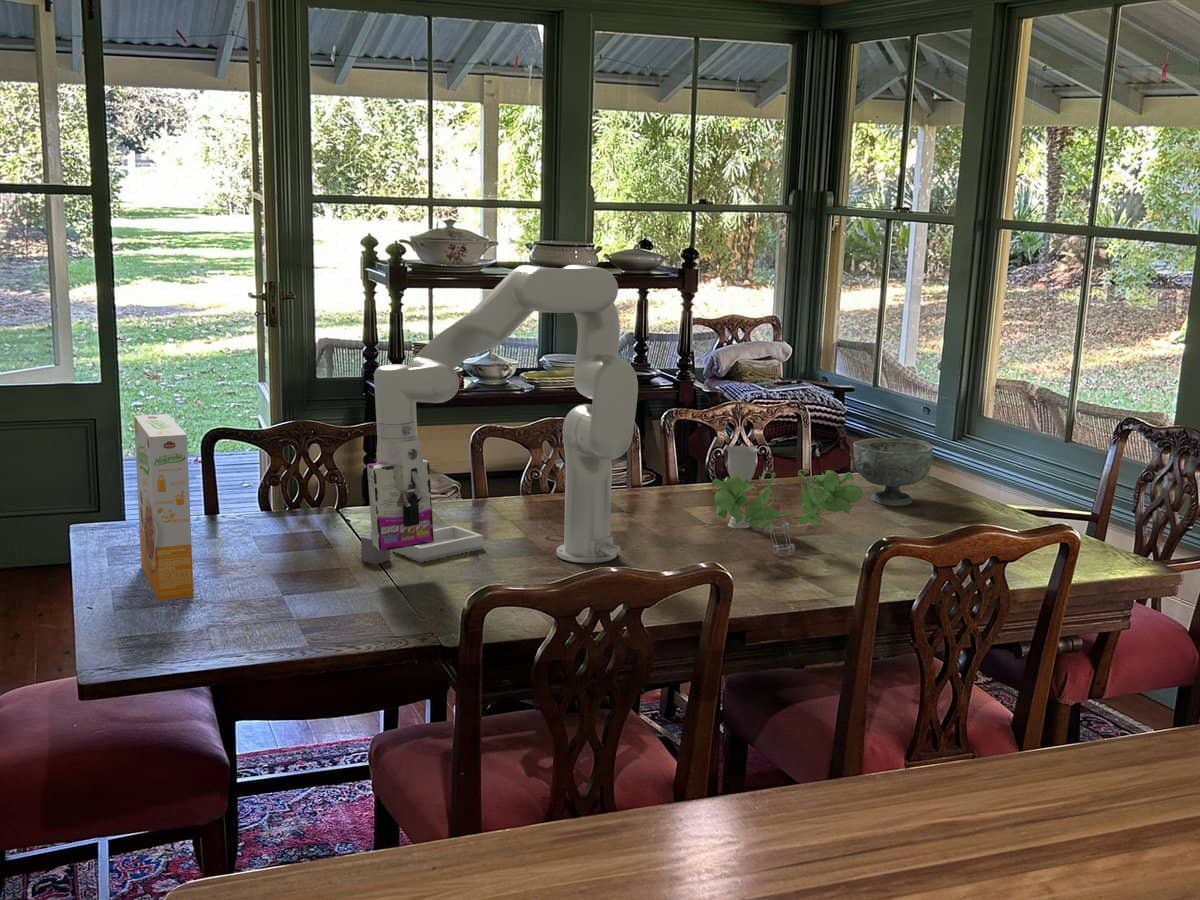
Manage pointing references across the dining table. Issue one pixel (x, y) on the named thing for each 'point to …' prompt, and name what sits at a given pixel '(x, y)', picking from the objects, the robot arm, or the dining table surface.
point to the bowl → (893, 465)
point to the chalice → (741, 471)
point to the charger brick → (372, 551)
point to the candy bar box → (396, 510)
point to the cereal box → (164, 505)
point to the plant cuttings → (755, 514)
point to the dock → (444, 544)
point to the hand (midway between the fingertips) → (401, 521)
